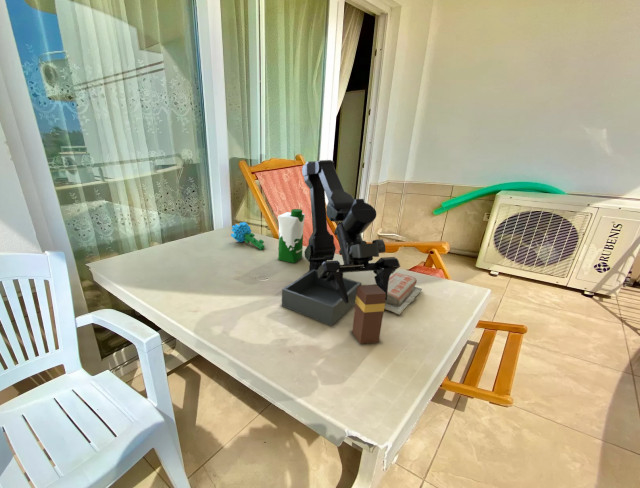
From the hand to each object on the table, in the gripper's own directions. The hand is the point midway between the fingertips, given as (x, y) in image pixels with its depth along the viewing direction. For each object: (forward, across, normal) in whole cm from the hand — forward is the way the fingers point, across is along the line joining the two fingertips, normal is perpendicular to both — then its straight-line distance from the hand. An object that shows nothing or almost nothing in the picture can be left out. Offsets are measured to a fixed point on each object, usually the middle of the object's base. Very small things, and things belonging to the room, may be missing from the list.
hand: (366, 301), depth 71 cm
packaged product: (-5, +17, +17) cm, 25 cm away
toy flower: (-43, -20, +56) cm, 73 cm away
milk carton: (-29, -6, +42) cm, 52 cm away
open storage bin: (-5, -5, +17) cm, 19 cm away
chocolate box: (+7, 0, +5) cm, 9 cm away
